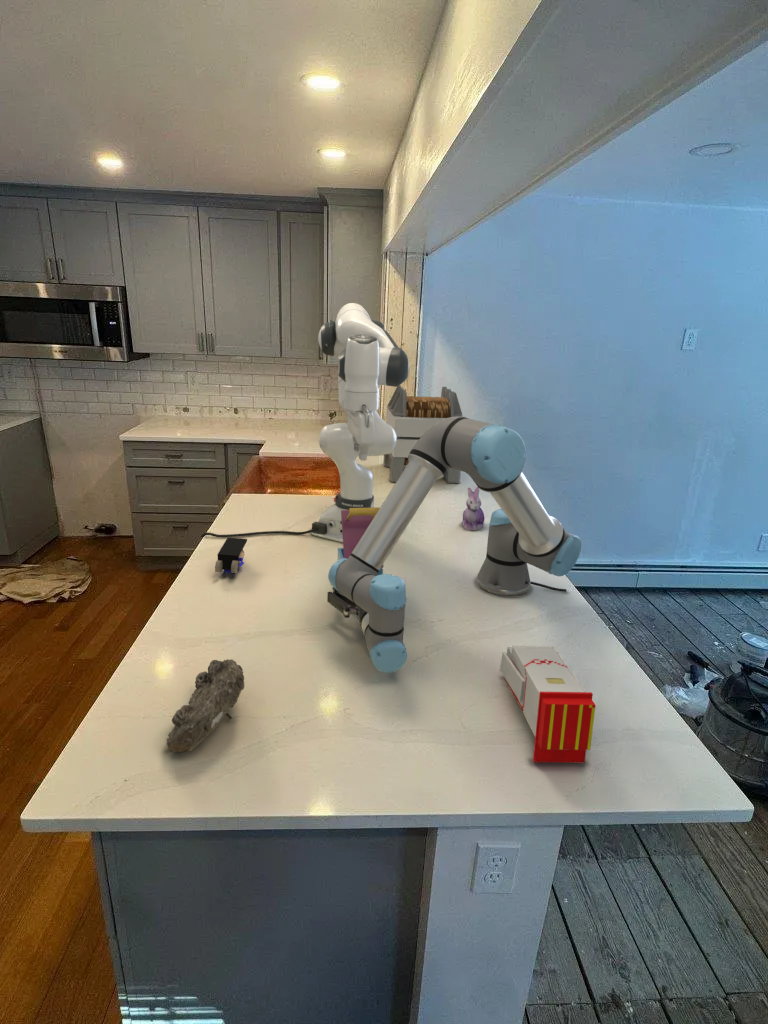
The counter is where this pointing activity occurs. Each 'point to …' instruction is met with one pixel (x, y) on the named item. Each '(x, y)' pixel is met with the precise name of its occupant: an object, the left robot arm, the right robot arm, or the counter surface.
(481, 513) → the figurine
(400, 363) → the left robot arm
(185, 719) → the fossil
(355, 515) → the lid
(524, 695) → the toy
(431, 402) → the transformer
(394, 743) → the counter surface
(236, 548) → the figurine character
